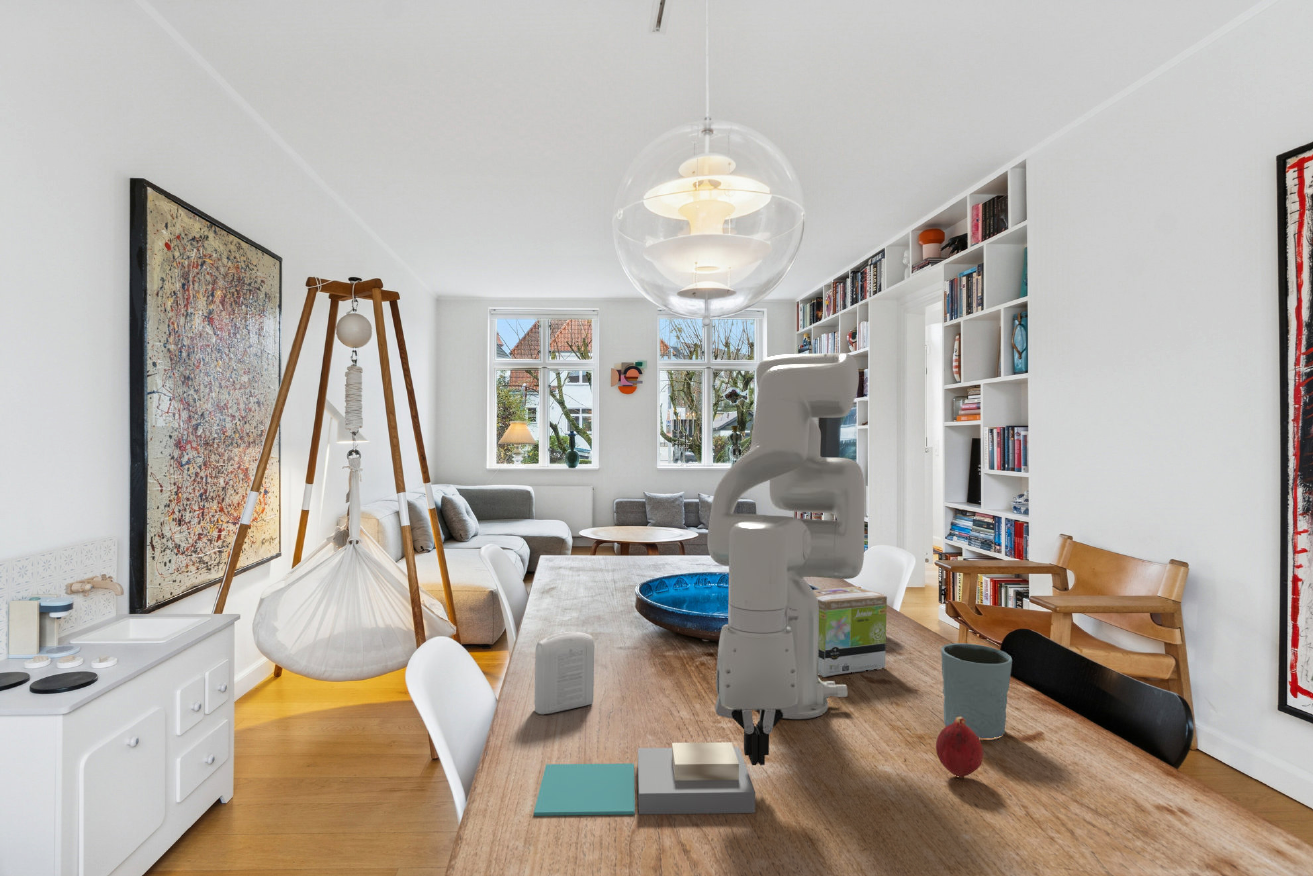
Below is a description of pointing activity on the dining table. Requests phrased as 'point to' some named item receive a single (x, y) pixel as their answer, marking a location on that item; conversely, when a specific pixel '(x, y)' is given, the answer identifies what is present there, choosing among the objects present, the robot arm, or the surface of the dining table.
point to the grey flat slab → (689, 788)
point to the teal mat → (586, 790)
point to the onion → (959, 748)
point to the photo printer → (564, 672)
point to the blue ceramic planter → (976, 687)
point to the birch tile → (705, 761)
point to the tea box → (851, 630)
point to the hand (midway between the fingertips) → (756, 760)
